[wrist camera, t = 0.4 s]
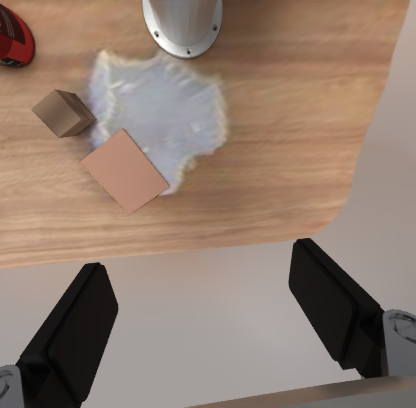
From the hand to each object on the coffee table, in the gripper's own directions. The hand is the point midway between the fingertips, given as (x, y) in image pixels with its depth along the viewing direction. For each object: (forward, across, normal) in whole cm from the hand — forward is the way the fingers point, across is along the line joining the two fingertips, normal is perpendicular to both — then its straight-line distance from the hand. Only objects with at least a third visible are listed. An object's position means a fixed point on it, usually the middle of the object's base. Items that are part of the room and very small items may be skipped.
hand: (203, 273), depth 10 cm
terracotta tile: (+34, +13, +2) cm, 37 cm away
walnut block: (+34, +20, -9) cm, 41 cm away
